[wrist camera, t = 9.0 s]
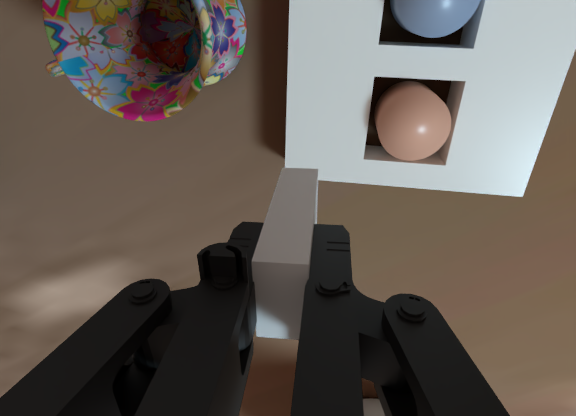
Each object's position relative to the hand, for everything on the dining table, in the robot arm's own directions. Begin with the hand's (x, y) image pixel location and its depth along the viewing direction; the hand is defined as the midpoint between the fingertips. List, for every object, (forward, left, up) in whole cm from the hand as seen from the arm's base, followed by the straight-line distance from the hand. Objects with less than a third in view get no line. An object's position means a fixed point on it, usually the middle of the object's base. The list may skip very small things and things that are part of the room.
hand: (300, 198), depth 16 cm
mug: (-12, +5, -17) cm, 21 cm away
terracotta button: (+6, 0, -16) cm, 17 cm away
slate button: (+6, +8, -16) cm, 19 cm away
